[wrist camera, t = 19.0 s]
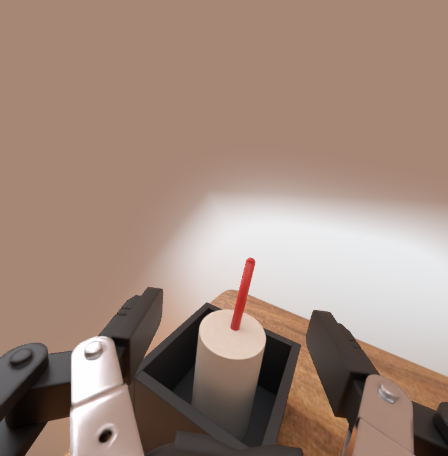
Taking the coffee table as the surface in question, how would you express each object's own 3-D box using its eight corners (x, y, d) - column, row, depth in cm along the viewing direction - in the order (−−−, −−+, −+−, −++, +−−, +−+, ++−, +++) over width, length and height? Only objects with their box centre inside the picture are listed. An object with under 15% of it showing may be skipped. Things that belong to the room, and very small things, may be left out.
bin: (127, 439, 19) (127, 372, 17) (201, 351, 29) (206, 302, 27) (247, 553, 14) (267, 478, 12) (286, 400, 24) (301, 344, 22)
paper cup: (177, 425, 20) (190, 268, 16) (209, 376, 25) (226, 246, 21) (234, 467, 18) (267, 296, 13) (256, 403, 23) (286, 264, 18)
